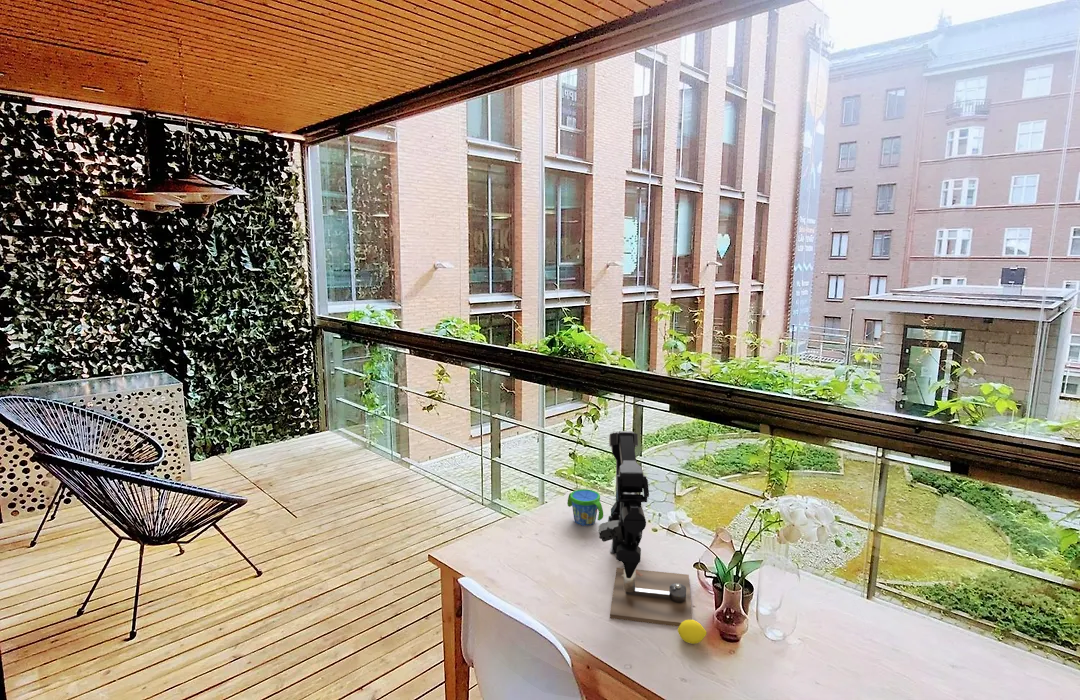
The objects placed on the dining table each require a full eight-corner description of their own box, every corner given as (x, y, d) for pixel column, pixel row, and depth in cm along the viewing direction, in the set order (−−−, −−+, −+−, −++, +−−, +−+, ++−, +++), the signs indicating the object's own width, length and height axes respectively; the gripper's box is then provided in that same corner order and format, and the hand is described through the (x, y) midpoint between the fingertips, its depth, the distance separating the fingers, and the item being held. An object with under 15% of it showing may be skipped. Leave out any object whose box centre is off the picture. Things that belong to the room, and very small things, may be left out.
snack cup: (610, 525, 199) (611, 498, 198) (587, 534, 193) (588, 506, 192) (582, 510, 212) (582, 484, 210) (560, 517, 206) (559, 491, 204)
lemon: (677, 647, 139) (674, 626, 138) (680, 633, 144) (677, 613, 143) (706, 650, 136) (704, 629, 135) (708, 636, 141) (706, 616, 140)
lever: (685, 594, 156) (686, 570, 155) (686, 603, 152) (687, 579, 151) (624, 587, 160) (624, 563, 159) (623, 596, 156) (623, 572, 154)
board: (616, 571, 171) (616, 567, 171) (688, 578, 167) (688, 574, 166) (609, 618, 149) (609, 613, 149) (692, 628, 145) (692, 623, 144)
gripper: (604, 498, 164) (603, 548, 167) (596, 529, 146) (596, 584, 149) (643, 501, 162) (642, 552, 165) (640, 533, 144) (639, 589, 147)
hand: (629, 568), depth 156 cm, fingers open, 9 cm apart
